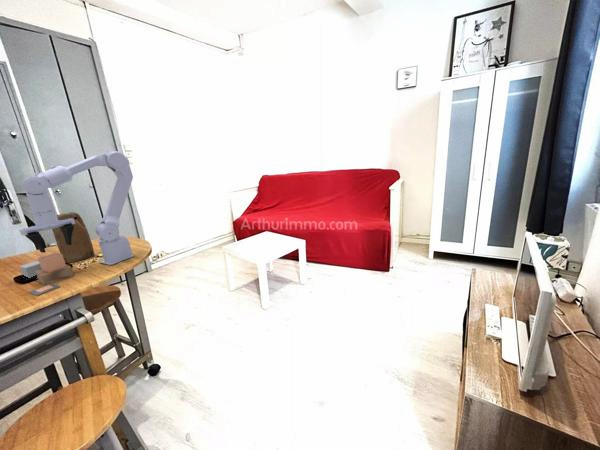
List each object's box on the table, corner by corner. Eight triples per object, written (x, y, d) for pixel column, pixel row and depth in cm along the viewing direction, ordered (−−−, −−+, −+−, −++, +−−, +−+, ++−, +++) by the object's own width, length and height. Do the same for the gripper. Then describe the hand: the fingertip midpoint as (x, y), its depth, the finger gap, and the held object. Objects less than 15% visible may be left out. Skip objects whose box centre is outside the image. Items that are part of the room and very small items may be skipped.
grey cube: (41, 272, 101) (37, 260, 100) (47, 274, 99) (43, 262, 98) (24, 278, 97) (19, 266, 96) (30, 280, 95) (25, 268, 93)
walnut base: (66, 272, 100) (63, 262, 99) (74, 276, 96) (71, 266, 95) (38, 281, 94) (35, 271, 93) (45, 286, 90) (41, 276, 89)
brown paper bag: (62, 265, 107) (46, 217, 102) (64, 259, 113) (49, 214, 108) (95, 257, 113) (81, 212, 108) (95, 252, 119) (82, 209, 114)
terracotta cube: (59, 265, 97) (55, 252, 96) (66, 266, 95) (61, 253, 94) (42, 270, 93) (37, 257, 92) (49, 272, 91) (44, 259, 90)
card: (51, 284, 90) (51, 282, 90) (60, 287, 88) (59, 285, 88) (28, 292, 85) (28, 291, 85) (37, 296, 83) (36, 294, 83)
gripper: (20, 217, 83) (35, 257, 87) (74, 207, 96) (85, 242, 99) (11, 216, 86) (26, 254, 90) (64, 206, 99) (75, 240, 103)
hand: (56, 248), depth 95 cm, fingers open, 7 cm apart
